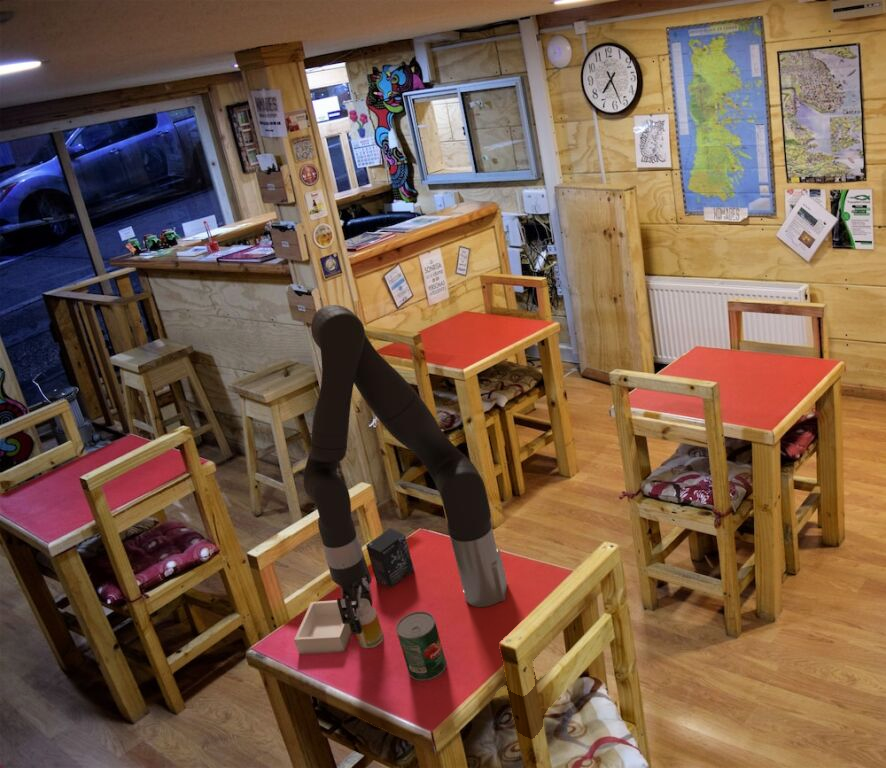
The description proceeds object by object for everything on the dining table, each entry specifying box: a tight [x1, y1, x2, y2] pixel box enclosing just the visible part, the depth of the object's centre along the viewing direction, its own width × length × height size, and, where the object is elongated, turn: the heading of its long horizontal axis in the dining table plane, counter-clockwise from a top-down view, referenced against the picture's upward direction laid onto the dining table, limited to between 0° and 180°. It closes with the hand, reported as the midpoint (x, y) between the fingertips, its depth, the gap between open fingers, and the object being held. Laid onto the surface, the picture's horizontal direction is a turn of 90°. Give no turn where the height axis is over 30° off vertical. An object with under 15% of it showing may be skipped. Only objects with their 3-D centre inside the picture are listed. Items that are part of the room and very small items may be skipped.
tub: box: [293, 599, 355, 655], centre depth 194 cm, size 10×12×4 cm
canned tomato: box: [395, 610, 447, 682], centre depth 176 cm, size 8×8×11 cm
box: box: [365, 528, 415, 589], centre depth 207 cm, size 8×6×11 cm
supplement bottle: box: [352, 598, 384, 649], centre depth 188 cm, size 5×5×10 cm
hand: (362, 619), depth 188 cm, fingers open, 8 cm apart
